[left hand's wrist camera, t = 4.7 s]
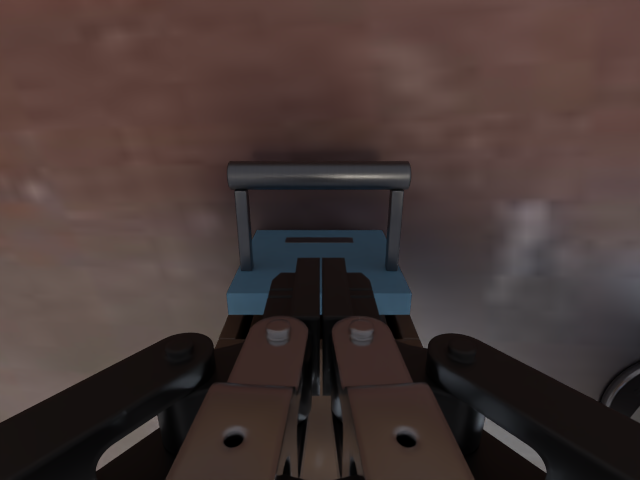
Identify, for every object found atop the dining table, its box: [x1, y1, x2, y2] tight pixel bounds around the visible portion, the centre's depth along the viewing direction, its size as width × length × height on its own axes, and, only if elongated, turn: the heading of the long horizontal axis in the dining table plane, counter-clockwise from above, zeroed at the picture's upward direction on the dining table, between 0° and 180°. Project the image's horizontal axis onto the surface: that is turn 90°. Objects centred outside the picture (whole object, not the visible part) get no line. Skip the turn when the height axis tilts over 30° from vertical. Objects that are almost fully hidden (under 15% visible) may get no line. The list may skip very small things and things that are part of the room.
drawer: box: [227, 161, 412, 339], centre depth 24 cm, size 24×9×9 cm, turn 0°
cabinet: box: [215, 315, 423, 480], centre depth 27 cm, size 20×10×11 cm, turn 0°
